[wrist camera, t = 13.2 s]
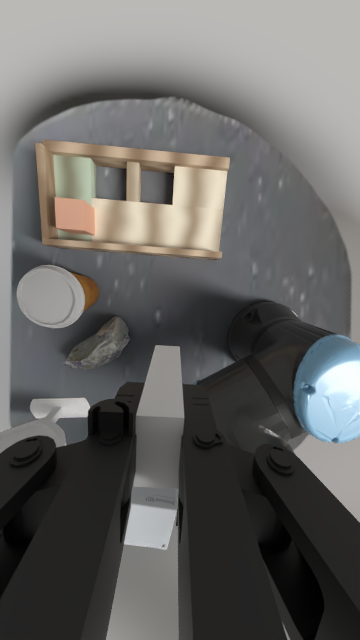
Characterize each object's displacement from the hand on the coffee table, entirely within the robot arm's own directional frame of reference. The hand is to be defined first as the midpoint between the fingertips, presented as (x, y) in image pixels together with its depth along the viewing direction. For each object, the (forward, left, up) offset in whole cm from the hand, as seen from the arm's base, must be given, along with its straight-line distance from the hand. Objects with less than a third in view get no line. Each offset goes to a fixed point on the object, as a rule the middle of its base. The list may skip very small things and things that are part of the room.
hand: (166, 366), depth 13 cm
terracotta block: (+17, -14, -28) cm, 35 cm away
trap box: (+7, -17, -30) cm, 35 cm away
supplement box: (+2, +35, -30) cm, 47 cm away
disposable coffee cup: (+18, -1, -30) cm, 35 cm away
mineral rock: (+14, +9, -31) cm, 35 cm away
